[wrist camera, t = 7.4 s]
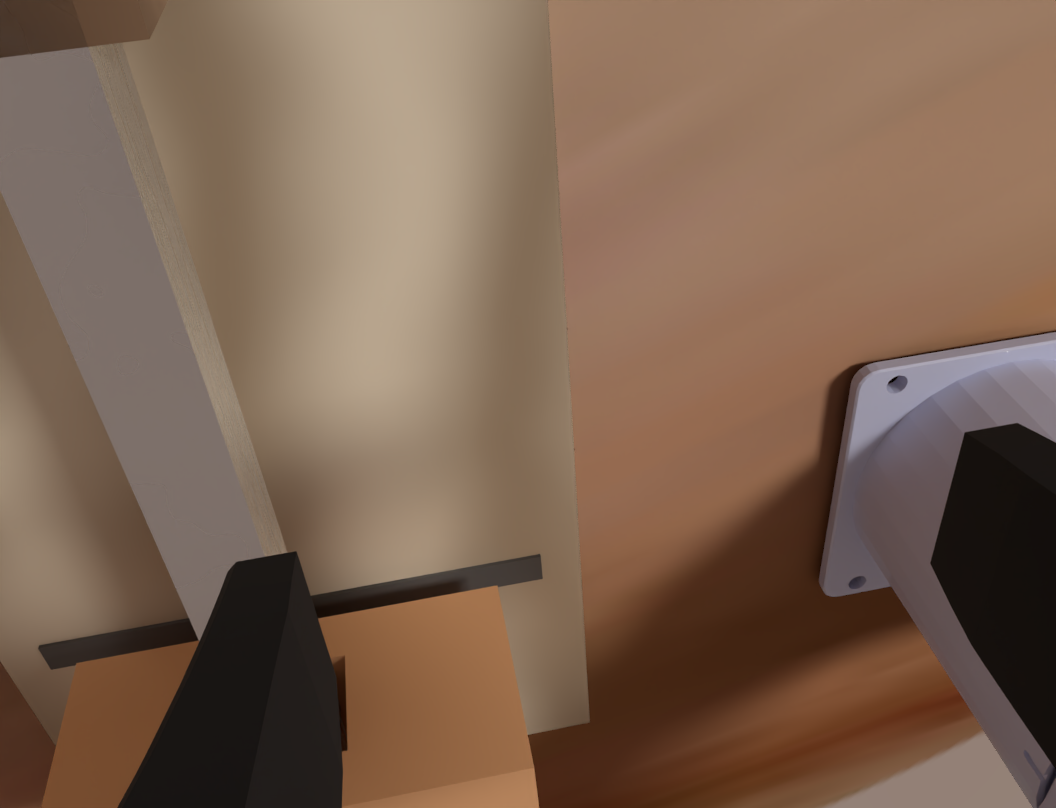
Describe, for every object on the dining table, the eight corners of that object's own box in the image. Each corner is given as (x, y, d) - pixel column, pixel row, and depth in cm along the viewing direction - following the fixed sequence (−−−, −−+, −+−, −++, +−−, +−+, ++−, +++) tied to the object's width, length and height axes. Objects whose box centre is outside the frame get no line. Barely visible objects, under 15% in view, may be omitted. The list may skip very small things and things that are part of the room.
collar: (497, 585, 22) (534, 767, 19) (511, 689, 25) (547, 869, 21) (76, 662, 21) (25, 871, 18) (134, 763, 24) (99, 965, 20)
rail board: (520, -273, 14) (603, -257, 10) (582, 694, 29) (627, 863, 25) (-486, -173, 13) (-863, -108, 9) (110, 787, 28) (73, 983, 23)
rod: (77, -112, 12) (45, -86, 10) (381, 832, 25) (384, 897, 24) (-69, -96, 11) (-121, -68, 10) (315, 846, 25) (315, 912, 23)
